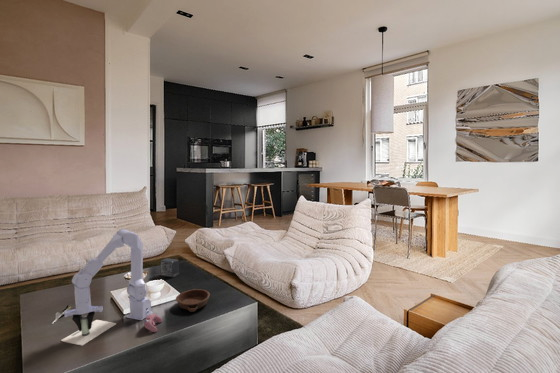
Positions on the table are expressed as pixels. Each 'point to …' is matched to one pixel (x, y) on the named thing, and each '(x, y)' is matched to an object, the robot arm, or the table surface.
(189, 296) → the dish
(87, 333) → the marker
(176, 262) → the small box
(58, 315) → the scissors
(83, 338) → the notepad
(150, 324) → the video game controller
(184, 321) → the table surface
